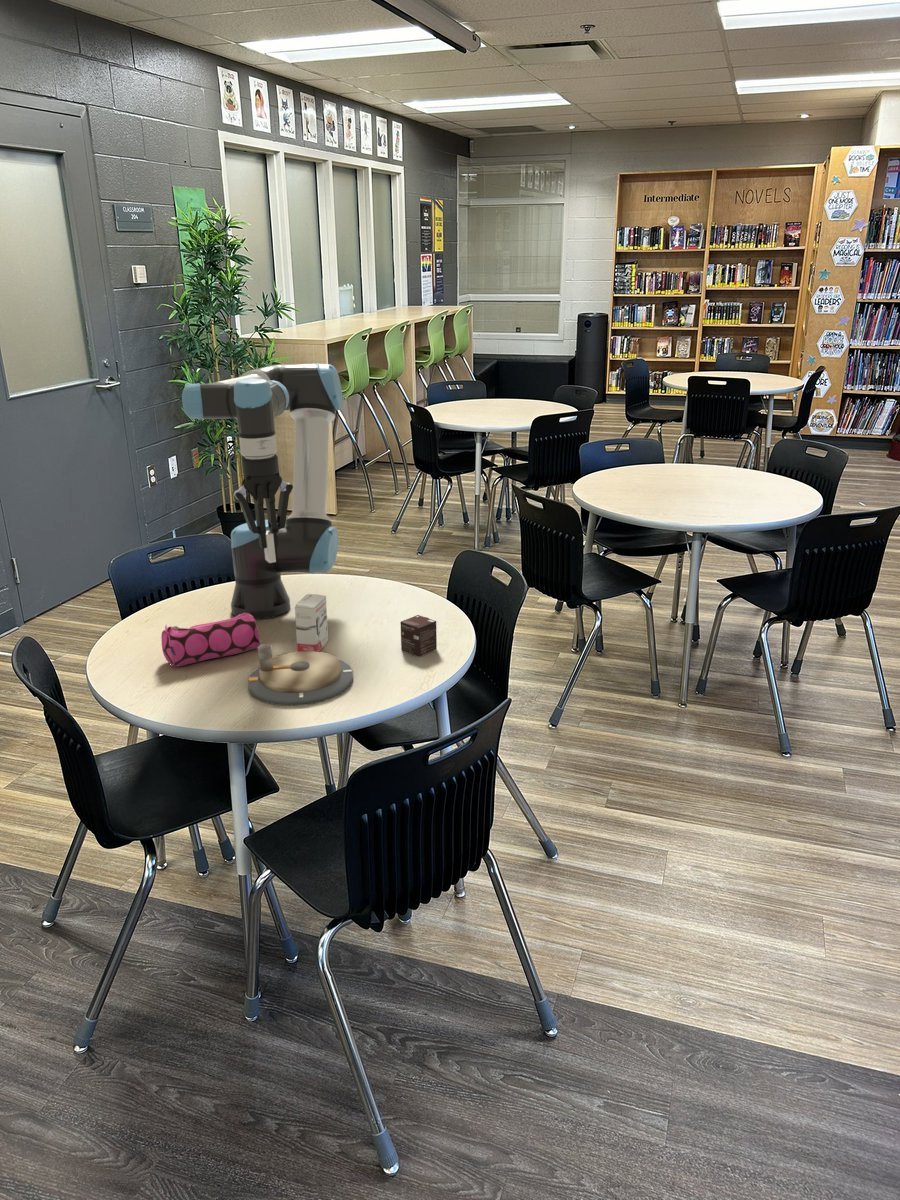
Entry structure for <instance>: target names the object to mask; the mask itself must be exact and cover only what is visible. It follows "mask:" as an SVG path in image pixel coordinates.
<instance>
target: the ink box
mask: <svg viewBox="0 0 900 1200" xmlns="http://www.w3.org/2000/svg"><path fill="white" fill-rule="evenodd" d="M327 610H328V609H327V596H326V595H322V594H311V593H307V594H305V595H304V596H303V597H302V598H301V599H300V600H298V602H296V603H295V605H294V613H295V633H296V652H300V651H316V652H321V650H322V648H324V646H325V645H326V644H327V643H328V642H329V636H328V635H329V633H328V632H329V631H328V615H327V614H328V613H327Z"/></svg>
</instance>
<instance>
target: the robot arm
mask: <svg viewBox="0 0 900 1200" xmlns="http://www.w3.org/2000/svg"><path fill="white" fill-rule="evenodd" d="M342 390H343V389H342V384H341V380H340V375H339V372H338V371H337V369H336V367H335V366H334V365H332V364H330V363H329V364H328V363H320V362H319V363H318V362H316V363H292V364H291V363H287V364H286V363H285V364H284V363H279V364H270V365H267V366H263V367H259V368H255V369H252V370H247V371H245V372H244V373H242V374H241V375H240V376H239V377H238V376H237V377H235V378H234V377H233V378H229V379H225V380H220V381H216V382H210V383H199V382H197V383H192V384H191V383H190V384H187V385H185V387H184V388H183V390H182V393H181V402H182V408H183V411H184V414H185V415H186V416H187V417H188V418H189V419H192V420H194V419H195V420H197V419H198V420H216V419H217V420H218V419H219V420H221V419H235V420H236V422H237V431H238V439H239V450H240V455H241V456H243V457H242V458H241V466H242V467H241V469H242V475H243V479H242V481H241V486H240V487H239V488H238V489H237V490H233V491H232V495H233V497H235V499H236V500H237V501H238V504H239V506H240V509H241V512H242V513H243V516H244V519H245V523H242V524H240V525H238V526H236V527H234V528H233V529H232V530H231V532H230V543H231V545H230V548H231V554H232V555H231V556H232V565H233V572H234V573H233V574H234V579H235V580H234V581H235V585H234V590H233V593H232V598H231V602H230V608H231V614H232V615H233V616H234V617H236V616H238V615H239V614H242V613H244V612H245V613H249V614H250V615H252V616H253V617H254V618H255V620H264V619H270V618H274V617H278V616H281V615H284V614H285V613H287V612H288V611H289V610H290V609H291V601H290V599H291V598H290V596H289V595H288V592H287V590H286V588H285V585H284V583H283V580H282V576H281V574H282V573H284V574H285V573H291V574H292V573H295V574H297V573H300V574H301V573H303V574H307V573H310V574H313V575H314V574H316V573H317V574H320V573H322V574H323V573H327V572H329V571H330V570H331V569H332V568H333V567H334V565H335V563H336V559H337V557H338V555H337V554H338V549H339V532H338V529H337V528H336V527H335V526H333V521H332V520H331V518H330V517H329V516H328V514H327V500H328V499H327V496H328V495H327V493H328V492H327V491H328V469H329V468H328V466H329V464H328V463H329V461H328V460H329V438H330V437H329V436H330V435H329V433H330V427H329V426H330V423H332V422H333V421H334V420H335V419H336V411H339V410H342V408H343V403H344V399H343V398H344V397H343V391H342ZM284 411H289V416H290V417H291V419H292V420H294V422H295V423H294V425H295V426H294V452H293V480H292V482H293V483H292V484H291V483H289V482H287V481H284V480H283V478H282V476H281V475H280V467H279V459H278V457H279V456H278V455H277V452H278V447H277V437H276V428H275V418H277V417H278V416H280V415H282V414H283V413H284ZM278 490H280V493H279V499H278V507H277V512H276V496H275V495H276V493H278ZM246 492H247V493H248V494H249V495H250V496H251V497H252V500H253V503H254V511H255V519H254V516H253V513H252V511H251V507H250V505H249V503H248V501H247V499H246V498H247V493H246ZM291 492H292V506H291V507H292V511H291V514H290V515H288V514H287V513H288V509H289V508H288V507H289V500H290V494H291ZM264 502H265V503H264ZM264 504H265V507H266V517H267V519H266V517H265V509H264V508H265V507H264ZM287 515H288V516H287Z"/></svg>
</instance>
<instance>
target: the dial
mask: <svg viewBox="0 0 900 1200" xmlns="http://www.w3.org/2000/svg"><path fill="white" fill-rule="evenodd" d="M257 652H258V663H259V667H260V670H259V672H260V681H261V683H262V685H263V686H265V687H266V688H268V689H271V690H274V691H278V692H286V693H299V692H308V691H313V690H317V689H321V688H324V687H326V686H329V685H330V684H332V683H334V682H335V681H336V680H338V678H339V677H340V675H341V667H340V661H339V660H340V659H339V658H338V657H336V656H335V655H333V654H330V653H326V652H322V651H319V652H316V651H300V652H297V651H292V652H288V653H287V652H286V653H283V654H279V655H277V656H276V655H275V656H274V657H273V648H272V645H271V644H268V643H267V644H266V643H265V644H264V643H263V644H261V645H260V646H258V648H257ZM338 659H339V660H338Z"/></svg>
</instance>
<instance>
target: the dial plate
mask: <svg viewBox="0 0 900 1200" xmlns="http://www.w3.org/2000/svg"><path fill="white" fill-rule="evenodd" d="M337 659H338V660H339V661H340V667H341V675H340V677H339V678H338V680H336V681H335V682H334V683H332V684H330V685H329V686H326V687H324V688H321V689H317V690H313V691H308V692H299V693H286V692H278V691H274V690H271V689H268V688H266V687H265V686H263V685H262V683H261V681H260V672H259V670H260V666H259V667H257V668H255V670H254V671H253V672H251V674H250V675H249V677H248V682H247V683H248V690H249V691H248V692H249V693H250V694H251V696H252V697H254V699H257V700H259V701H261V702H264V703H268V704H272V705H279V706H304V705H310V704H316V703H320V702H324V701H327V700H329V699H333V698H336V697H338V696H340V695H341V694H342V693H345V692H346V691H347V690H348V689H349V688H350V687H351V686H352V684H353V682H354V673H353V672H354V671H353V668H352V667H351V665H349V664H348V663H347V662H345V661H343V660H341V659H339V658H337Z"/></svg>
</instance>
